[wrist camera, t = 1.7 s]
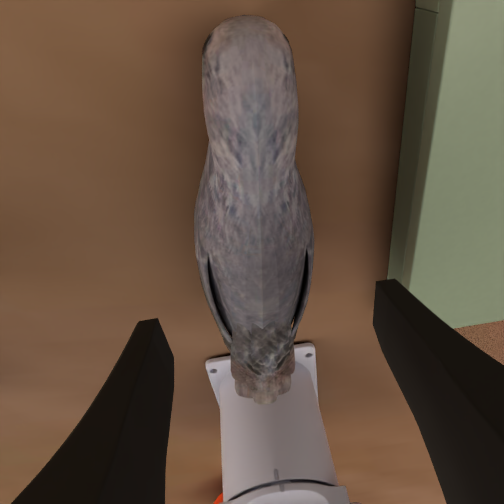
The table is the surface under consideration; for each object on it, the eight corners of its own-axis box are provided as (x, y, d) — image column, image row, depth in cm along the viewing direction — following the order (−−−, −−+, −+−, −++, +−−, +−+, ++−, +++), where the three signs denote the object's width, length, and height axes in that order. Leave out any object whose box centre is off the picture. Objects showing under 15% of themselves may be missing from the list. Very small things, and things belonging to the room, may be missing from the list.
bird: (302, 0, 16) (363, 31, 10) (293, 293, 25) (321, 398, 19) (165, 9, 15) (141, 46, 9) (210, 301, 25) (212, 410, 19)
